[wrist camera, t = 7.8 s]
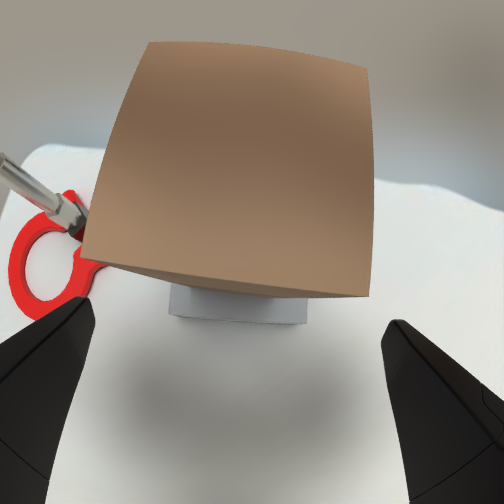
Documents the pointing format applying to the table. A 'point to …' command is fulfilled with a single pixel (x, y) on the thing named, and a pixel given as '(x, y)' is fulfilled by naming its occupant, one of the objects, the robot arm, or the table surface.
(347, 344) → the table surface
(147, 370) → the table surface
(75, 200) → the tow hook
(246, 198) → the walnut pillar
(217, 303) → the grey plinth
